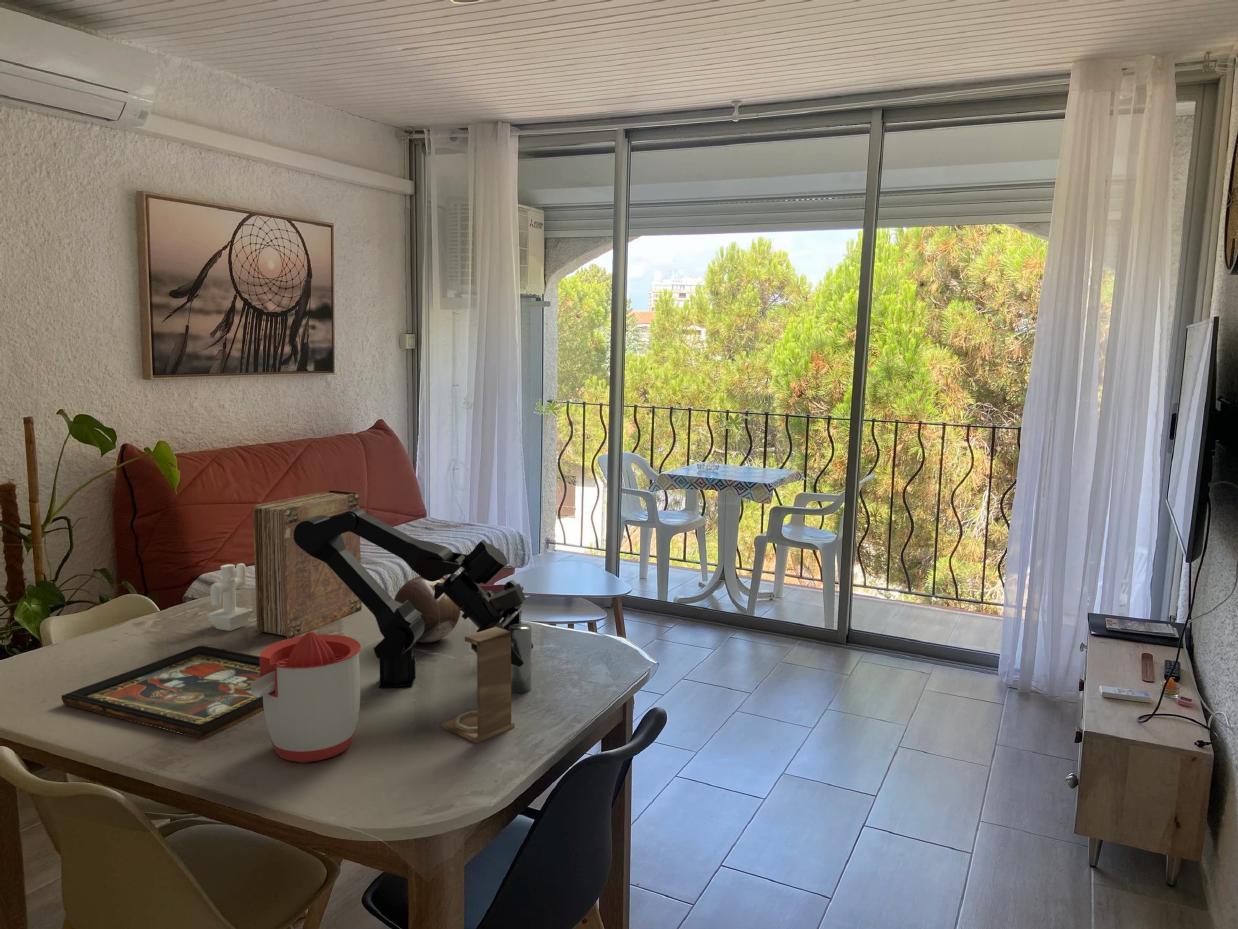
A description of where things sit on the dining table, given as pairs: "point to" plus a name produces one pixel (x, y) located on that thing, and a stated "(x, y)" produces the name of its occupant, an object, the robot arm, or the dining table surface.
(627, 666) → the dining table surface
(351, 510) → the robot arm
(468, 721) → the ledge stand
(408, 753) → the dining table surface
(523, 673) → the metal tin
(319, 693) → the citrus juicer
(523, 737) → the dining table surface
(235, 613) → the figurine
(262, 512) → the book
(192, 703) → the framed icon painting
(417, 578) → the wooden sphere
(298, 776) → the dining table surface
